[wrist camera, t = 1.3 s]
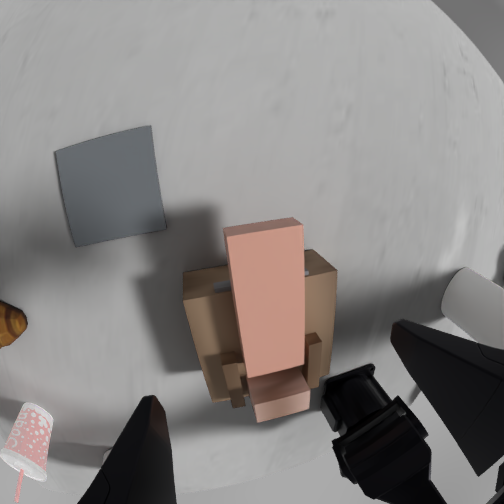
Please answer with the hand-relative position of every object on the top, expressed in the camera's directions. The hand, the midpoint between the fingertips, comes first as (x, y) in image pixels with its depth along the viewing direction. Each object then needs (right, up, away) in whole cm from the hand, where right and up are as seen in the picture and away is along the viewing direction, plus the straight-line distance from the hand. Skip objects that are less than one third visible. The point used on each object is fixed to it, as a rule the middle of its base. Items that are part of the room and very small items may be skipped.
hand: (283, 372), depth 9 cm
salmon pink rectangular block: (0, +1, +9) cm, 9 cm away
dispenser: (-1, -1, +14) cm, 14 cm away
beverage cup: (-28, -16, +13) cm, 35 cm away
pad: (-11, +8, +8) cm, 16 cm away
